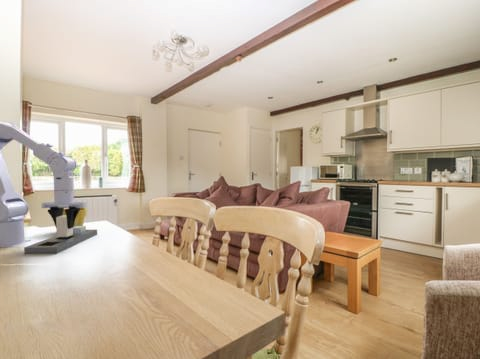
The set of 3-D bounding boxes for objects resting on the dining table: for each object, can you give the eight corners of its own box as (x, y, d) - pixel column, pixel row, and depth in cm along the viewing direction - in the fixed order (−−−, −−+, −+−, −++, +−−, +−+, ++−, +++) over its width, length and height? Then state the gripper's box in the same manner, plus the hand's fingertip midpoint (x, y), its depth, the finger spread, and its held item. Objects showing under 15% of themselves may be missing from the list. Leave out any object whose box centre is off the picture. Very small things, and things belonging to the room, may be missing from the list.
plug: (55, 237, 91) (55, 217, 91) (63, 234, 95) (62, 215, 95) (65, 237, 91) (65, 217, 91) (72, 234, 95) (72, 215, 95)
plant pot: (65, 236, 105) (65, 212, 105) (53, 232, 110) (52, 209, 110) (91, 230, 114) (91, 208, 114) (79, 228, 119) (78, 206, 119)
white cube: (71, 238, 100) (71, 228, 99) (76, 236, 103) (76, 226, 103) (80, 238, 100) (80, 227, 99) (85, 235, 103) (85, 225, 103)
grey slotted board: (24, 255, 81) (24, 247, 81) (72, 235, 105) (71, 229, 105) (56, 255, 82) (56, 247, 81) (97, 235, 105) (97, 229, 105)
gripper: (34, 191, 88) (35, 230, 89) (77, 191, 89) (78, 230, 89) (49, 189, 96) (50, 226, 96) (89, 189, 96) (90, 226, 96)
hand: (64, 228), depth 93 cm, fingers closed on plug, 3 cm apart
